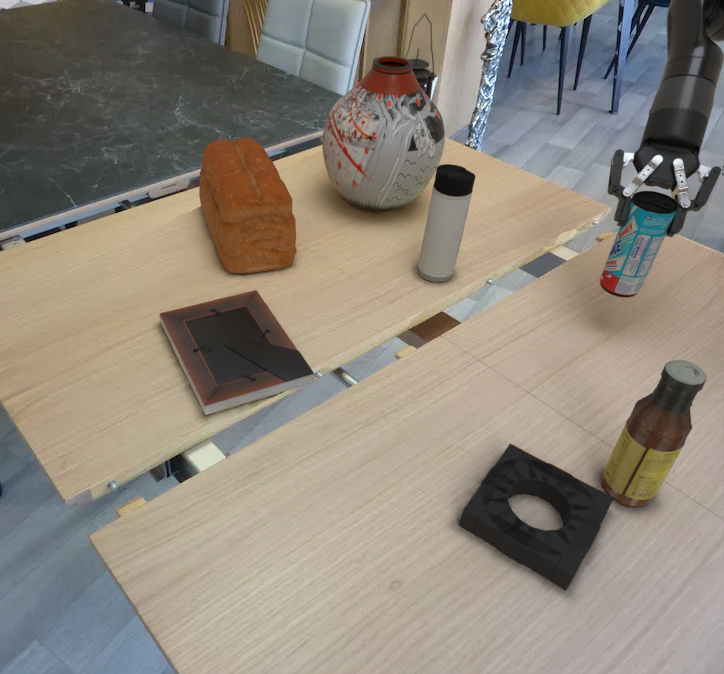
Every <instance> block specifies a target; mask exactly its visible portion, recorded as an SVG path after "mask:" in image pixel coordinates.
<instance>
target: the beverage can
mask: <svg viewBox="0 0 724 674" xmlns="http://www.w3.org/2000/svg"><path fill="white" fill-rule="evenodd" d="M631 198H632V200H631V204H630V207H629V211H628V214H627V217H626V221H625V223H624V225H623V226H622V227H621V226H619V229H618V232H617V234H616V237H615V239H614V242H613V244H612V247H611V249H610V252H609V254H608V257H607V259H606V261H605V265H604V267H603V269H602V271H601V274H600V277H599V285H600V287H601V289H602V290H604V291H605V292H606V293H608V294H609V295H611V296H615V297H617V298H633V297H635V296H637V295H638V294H639V293H640V292H641V290H642V288H643V286H644V284H645V282H646V280H647V278H648V274H649V273H650V271H651V269H652V266H653V264H654V262H655V260H656V257H657V255H658V253H659V251H660V249H661V247H662V245H663V243H664V240H665V238H666V237H667V236H666V235H667V231H668V229H669V227H670V225H671V222H672V220H673V218H674V216H675V213H676V210H677V209H678V206H679V205H678V203H677V201H676V200H675V199H673V198H672V196H671V195H667V194H665V193H662V192H659V191H655V190H654V191H653V190H640V191H636V192H635V193H634V194H633V195H632V196H631Z"/></svg>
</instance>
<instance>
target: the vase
mask: <svg viewBox="0 0 724 674" xmlns="http://www.w3.org/2000/svg"><path fill="white" fill-rule="evenodd" d="M412 66H413V63H412V62H411V61H410V60H408V58H406V59H405V57H403V56H402V57H401V56H395V55H394V56H393V55H385V56H379V57H376V58H374V59H373V60H372V65H371V67H370V69H369V70H368V72H367V73H366V74H365V75H364V76H363V78H361V80H359V82H358V83H356V84H355V85H354V86H353V87H352V88H351V89H349V90H348V91H347V92H346V93H345V94H344V95H342V96H341V97H340V98H339V99H338V100H337V101H336V102H335V103H334V104H333V106H332V107H331V109H330V111H329V112H328V114H327V116H326V119H325V122H324V126H323V132H322V142H321V143H322V144H321V147H322V156H323V163H324V165H325V169H326V173H327V175H328V179H329V180H330V182H331V184H332V186H333V187H334V189H335V190H336V192H337V193H338V194H339V196H340V197H341V198H342V199H343V200H345V201H346V203H348V204H349V205H351V206H352V207H354V208H356V209H358V210H360V211H363V212H366V213H367V212H368V213H373V214H384V213H391V212H394V211H397V210H399V209H402V208H404V207H406V206H407V205H409V204H410V203H412V202H413V201H414V200H415V199H417V198H418V197H419V196H420V195H421V194H422V193H423V192H424V190H425V189H426V188H427V186H428V185H429V184H430V183H431V181H432V179H433V178H434V176H435V175H436V171H437V167H438V166H440V163H441V159H442V156H443V152H444V148H445V142H446V131H445V124H444V120H443V116H442V114H441V113H440V110H439V108H438V107H437V106H436V104H435V103H434V101H432V98H431V99H430V98H429V97H428V96H427V94H426V93H425V92H424V91H423V89H422V88H421V86H420V85H419V83H418V81H417V80H416V78H415V76H414V73H413V70H412Z"/></svg>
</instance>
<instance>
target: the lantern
mask: <svg viewBox="0 0 724 674" xmlns="http://www.w3.org/2000/svg"><path fill="white" fill-rule="evenodd" d="M424 17H425V18H426V20H427V21H428V22H429V25H430V27H429V29H430V52H431V59H432V60H431V61H432V62H431V63H432V72H431V70H430V69H428V68H429V67H430V63H429V62H428V61H426V60H425V59H421V58H419V52H420V48H419V47H418V48H417V52H416V58H409V59H408V58H407V56H408V55H409V52H410V49H411V45H412V40H413V36H414V32H415V28H416V26H417V25H418V24H419V23H420V22H421V21H422V20H423V19H424ZM404 58H405V59H408V60H410V61H411V62H412V63H413V66H412V70H413V73H414V76H415V78H416V80H417V81H418V83H419V85H420V86H421V88H422V89H423V91H424V92H425V93H426V94H427V96H428V97H429V98H430V99H431V100H432V91H433V90H432V89H433V83H434V81H435V79H436V74H435V60H434V59H435V58H434V50H433V24H432V21H431V20H430V18H429V17H428V14H427V13H423V15H422V16H421V17H420V19H419V20H418V21H417V22H416V23H415V24H414V25H413V27H412V31H411V35H410V39H409V43H408V49H407V52H406V54H405V56H404Z"/></svg>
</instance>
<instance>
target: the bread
mask: <svg viewBox="0 0 724 674" xmlns="http://www.w3.org/2000/svg"><path fill="white" fill-rule="evenodd" d="M274 163H275V162H274V161H273V159H272V158H270V156H269V154H268V152H267V151H266V150H265V148H264V146H263V145H262V144H260V143H259V142H258V141H256V140H255V139H254V138H252V137H242V138H239V137H238V138H236V139H235V140H234V141H232V140H230V139H219V140H213V141H211V142H210V143H209V144H208V145H206V147H205V148H204V151H203V154H202V156H201V164H202V165H201V167H200V171H199V185H198V186H199V188H198V189H199V191H198V194H199V195H198V197H199V202H200V207H201V210H202V213H203V216H204V219H205V222H206V225H207V228H208V231H209V234H210V238H211V239H212V242H213V245H214V248H215V250H216V253H217V257H218V259H219V261H220V262H221V264H222V266H223V267H224V269H225V270H226V271H227V272H228V273H231V274H245V275H246V274H253V273H262V272H268V271H276V270H282V269H285V268H287V267H289V266H291V265H293V262H294V259H295V257H296V254H297V251H298V250H297V246H296V241H297V226H296V225H297V223H296V217H295V215H294V213H293V197H292V195H291V193H290V192H289V190H288V188H287V185H286V183H285V182H284V180H283V179H282V178H281V176H280V173H279V171H278V169H277V167H276V165H275V164H274Z"/></svg>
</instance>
